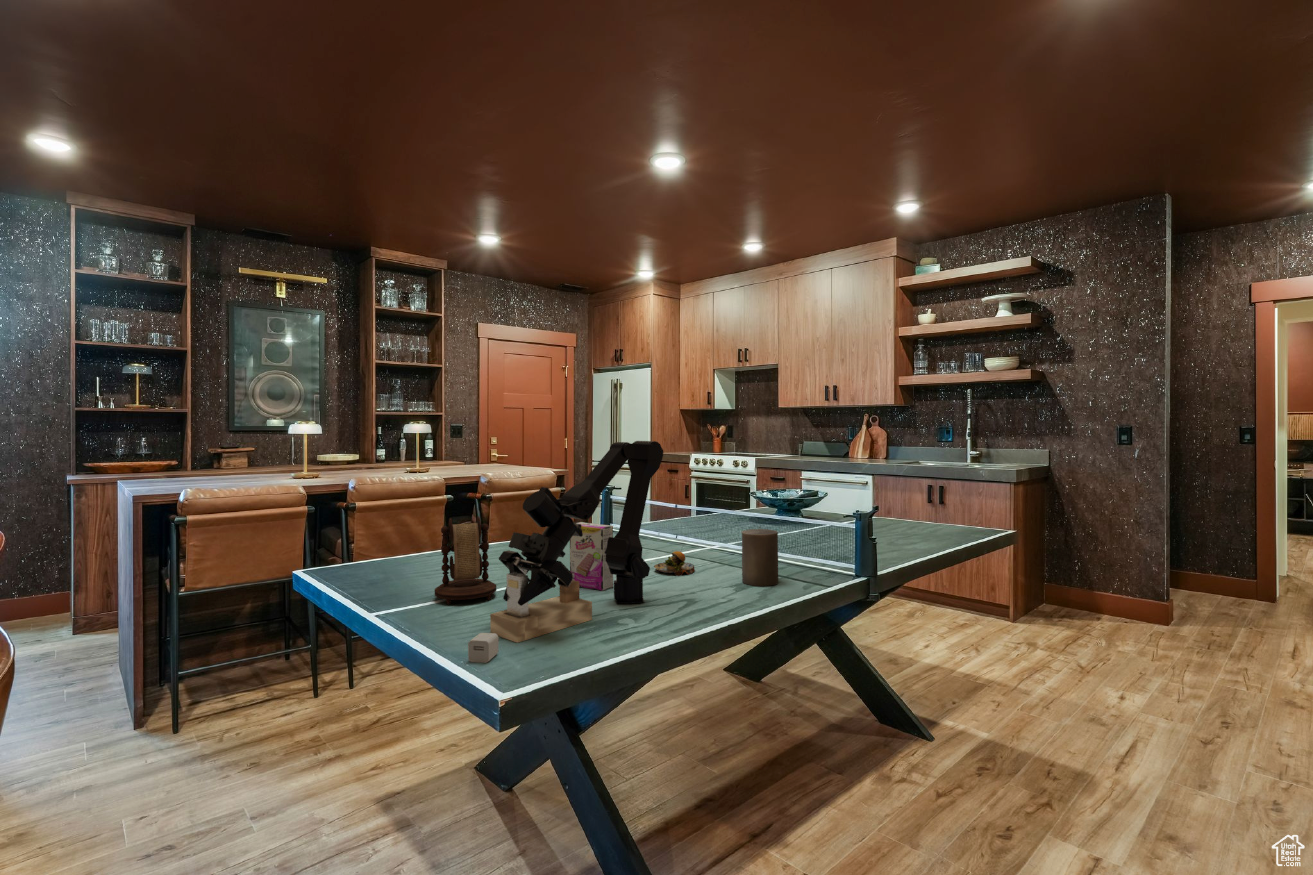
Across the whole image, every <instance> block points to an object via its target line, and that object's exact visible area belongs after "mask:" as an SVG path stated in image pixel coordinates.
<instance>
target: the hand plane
mask: <svg viewBox="0 0 1313 875" xmlns="http://www.w3.org/2000/svg"><path fill="white" fill-rule="evenodd" d="M528 613H529V616H528V617H524V618H521V619H519V618H516V617H513V616H509V615H507V609H503V610H500V611H495V612H493V613H490V618H489V620H490V633H495V634H497V635H498V637H499V638H503V639H506V640H509V641H511V642H513V643H514V642H515V643H517V644H518V643H521V642H524V641H528V640H530V639H534V638H537V637H541V636H543V635H546V634H550V633H553V632H556V631H560V630H563V629H566V628H570V627H573V626H575V625H579V624H583V623H585V622H588V621H592V620H593V602H592V600H591V601H590V600H587V599H582V598H581V597H580V587H579V581H575V580H572V582H571V583H570V585H569V587H564V586H560V585H559V596H554V597H551V598H548V599H544V600H542V599H541V600H539V601H535V602H531V603H528Z"/></svg>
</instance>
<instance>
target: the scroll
mask: <svg viewBox="0 0 1313 875" xmlns="http://www.w3.org/2000/svg"><path fill="white" fill-rule="evenodd" d="M481 522H482V521H481V517H479V516H477V517H476V522H474V523H473V522H472V523H459V524H453V521H452V518H451V517H450V518H449V519H448V526H446V525H443V526H442V527H441V528H440V532H441V534H442V535H441V537H442V540H441V544H442V546H441V548H440V552H441V554H442V560H441V561H442V562H441V563H443V564H442V565H441V567H440V568H441V571H443V572H442V574H441V575H443V576H442V580H441V582H442V583H441V584H440V585H438V586H436V587H435V588H434V597H436V598H438V599H441V600H445V601H446V602H445V603H446V604H447V605H448V606H449V605H451V602H452V601H461V600H463V601H464V600H474V599H481V598H484V597H486V600H487V601H490V600H491V598H492V595H493V594H495V593H496V592H497V583H495V582H492V581H491V580H489V577H490V576H489V572H488V571H489V568H488V567H489V566H490V562H489V561H488V559H489V556H488V553H487V552H489V549H490V544H489V542H488V541H489V538H488V533H489V532H488V530H489V528H490V527H489V525H488V524H487V523H481ZM448 538H449V539H448ZM480 539H481V541H482V542H481V543H480ZM449 541H450V542H451V543H452V544H453V545H452V546H450V545H449ZM480 550H481V552H483V553H482V555H481V553H480ZM450 552H453V554H454V555H450V556H449V557H448V555H449V553H450ZM449 575H450V577H449ZM480 577H481V578H480ZM450 578H451V579H452V580H450Z"/></svg>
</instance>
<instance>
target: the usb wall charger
mask: <svg viewBox="0 0 1313 875" xmlns="http://www.w3.org/2000/svg"><path fill="white" fill-rule="evenodd" d="M499 642H500V637H499V636H498V635H497V634H495V633H491V632H479V633H478V634H477V635H476V636H474V637H473V638H472V639H471V640H469V641H468V642H467V645H468V647H467V649H468V650H467V652H468V653H467V654H468V655H467V656H468V661H469V662H471V663H473V662H474V663H488V662H490V661H491V660H492V659H493V658H494V657H495V656H496V655H498V653H499Z"/></svg>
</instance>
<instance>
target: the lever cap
mask: <svg viewBox="0 0 1313 875" xmlns="http://www.w3.org/2000/svg"><path fill="white" fill-rule="evenodd" d="M528 578H529V575H528V574H526V575H524V574H520V573H516V572H513V573H510V572H509V573H506V587H507V601H506V610H507V615H509V616H513V617H516V618H519V619H521V618H524V617H528V616H529V613H528V604H529V601H528V602H527V603H525V604H524V605H522V606H520V605H519V604H518V600H519V598H520V596H521V594H522V593H523V591H524V589H525V588H526V586H527V584H528Z"/></svg>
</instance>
